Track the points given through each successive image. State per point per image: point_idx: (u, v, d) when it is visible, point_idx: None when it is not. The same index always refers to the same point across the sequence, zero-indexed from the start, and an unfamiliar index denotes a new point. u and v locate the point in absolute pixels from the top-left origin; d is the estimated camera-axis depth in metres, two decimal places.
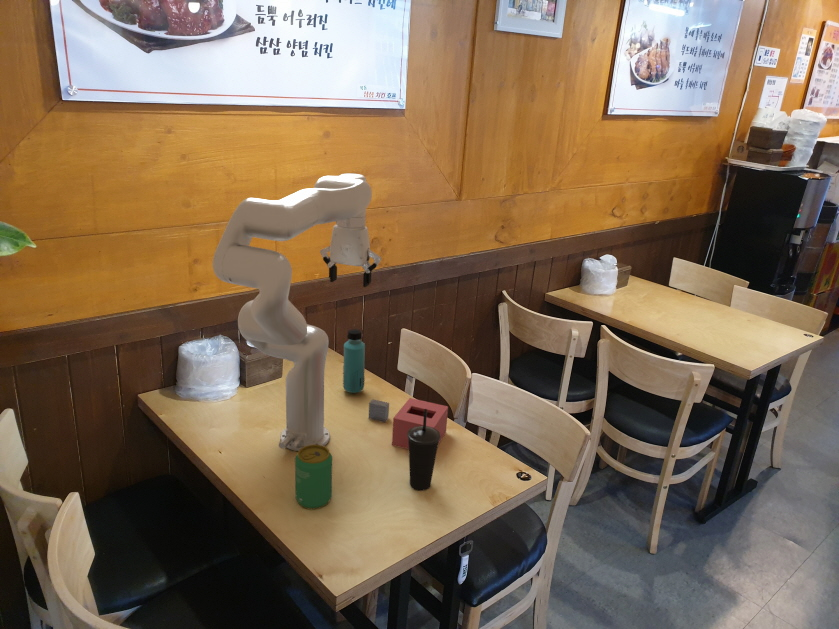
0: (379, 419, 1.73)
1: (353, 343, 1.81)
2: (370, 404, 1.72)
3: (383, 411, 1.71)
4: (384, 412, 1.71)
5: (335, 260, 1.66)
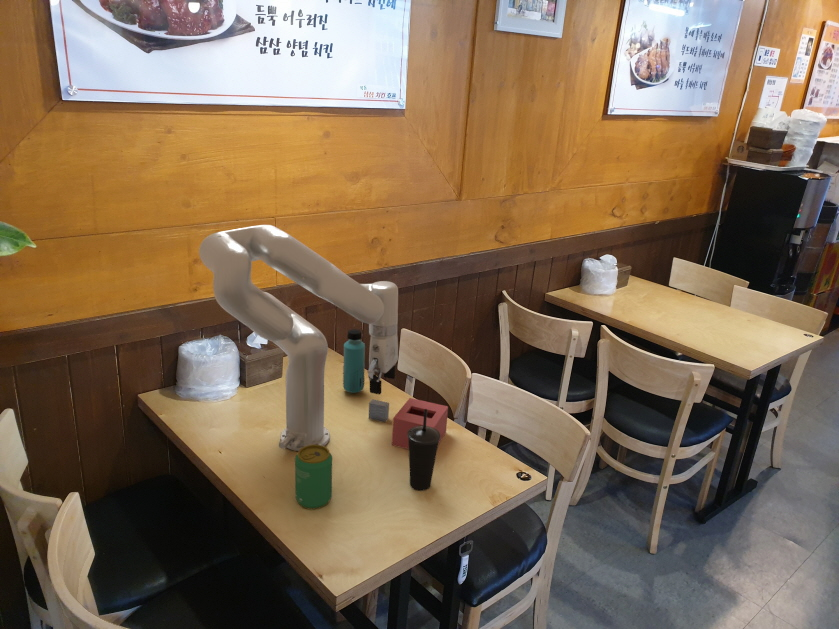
0: (379, 419, 1.73)
1: (353, 343, 1.81)
2: (370, 404, 1.72)
3: (383, 411, 1.71)
4: (384, 412, 1.71)
5: (387, 369, 1.65)
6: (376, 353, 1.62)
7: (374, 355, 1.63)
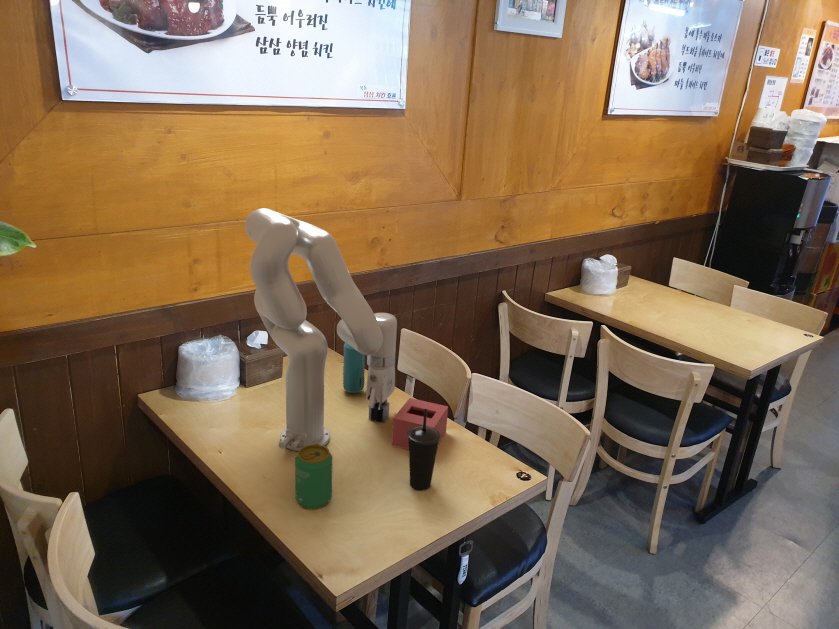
0: None
1: None
2: None
3: (384, 411, 1.71)
4: (385, 412, 1.71)
5: (384, 399, 1.68)
6: (373, 383, 1.65)
7: (371, 385, 1.65)
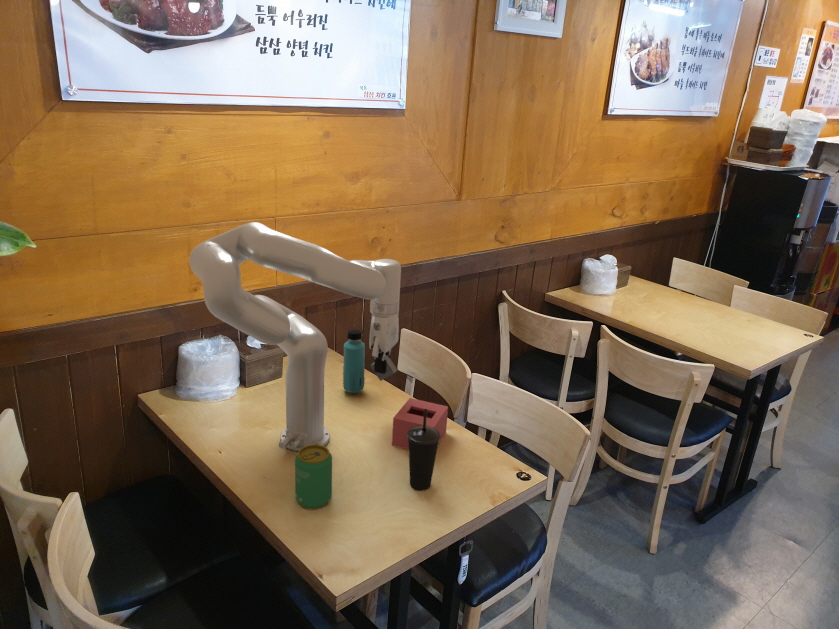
0: (388, 374, 1.67)
1: (353, 343, 1.81)
2: (372, 366, 1.68)
3: None
4: (387, 364, 1.66)
5: (388, 349, 1.62)
6: (377, 332, 1.60)
7: (374, 334, 1.60)
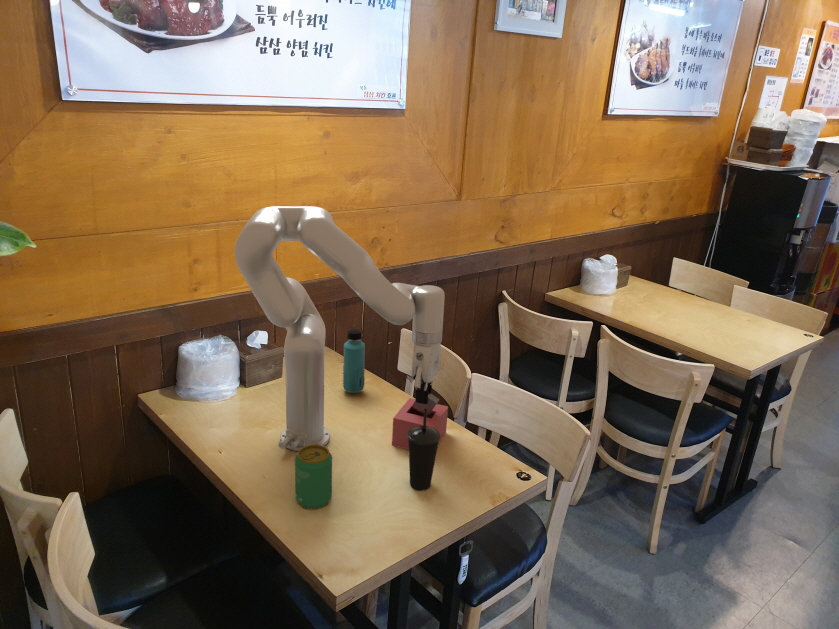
0: (431, 407, 1.60)
1: (353, 343, 1.81)
2: (413, 405, 1.62)
3: None
4: None
5: (431, 379, 1.55)
6: (420, 362, 1.52)
7: (417, 364, 1.53)
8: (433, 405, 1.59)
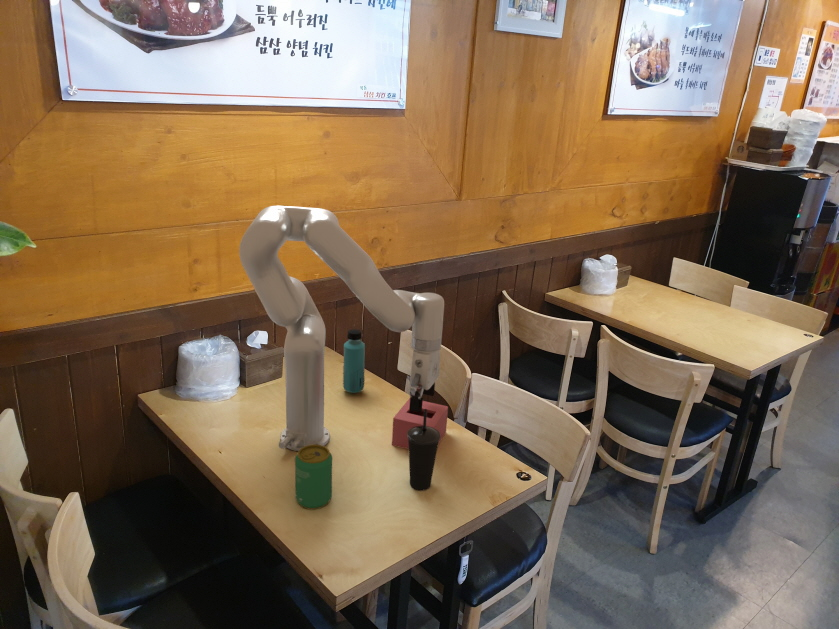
0: None
1: (353, 343, 1.81)
2: None
3: None
4: None
5: (430, 386, 1.56)
6: (419, 369, 1.53)
7: (416, 371, 1.54)
8: None
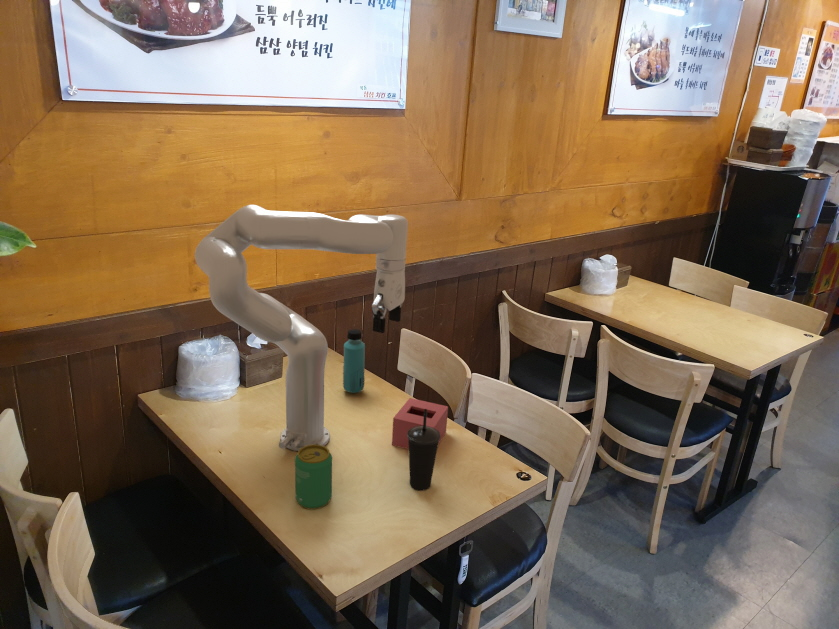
0: None
1: (353, 343, 1.81)
2: None
3: None
4: None
5: (392, 307, 1.59)
6: (381, 288, 1.57)
7: (379, 291, 1.57)
8: None
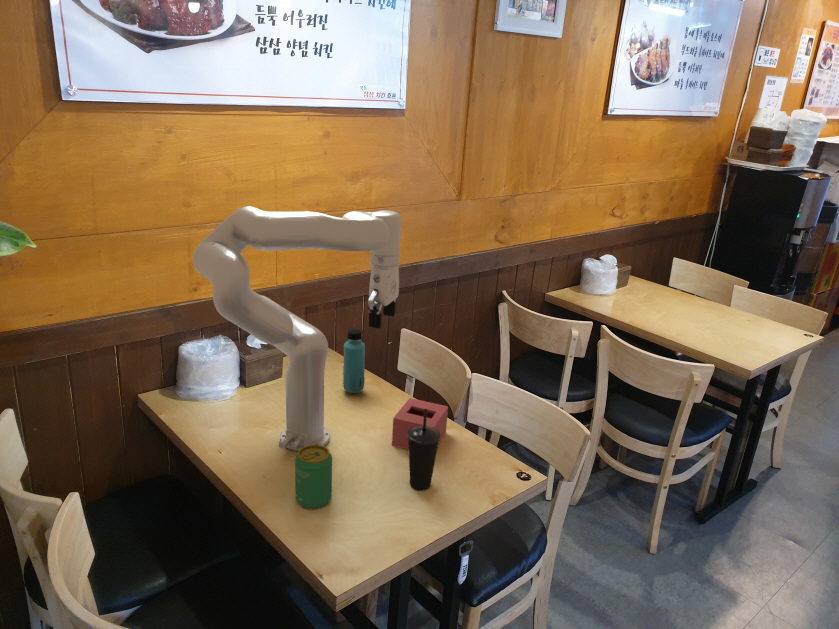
0: None
1: (353, 343, 1.81)
2: None
3: None
4: None
5: (388, 302, 1.60)
6: (377, 284, 1.58)
7: (374, 286, 1.58)
8: None
